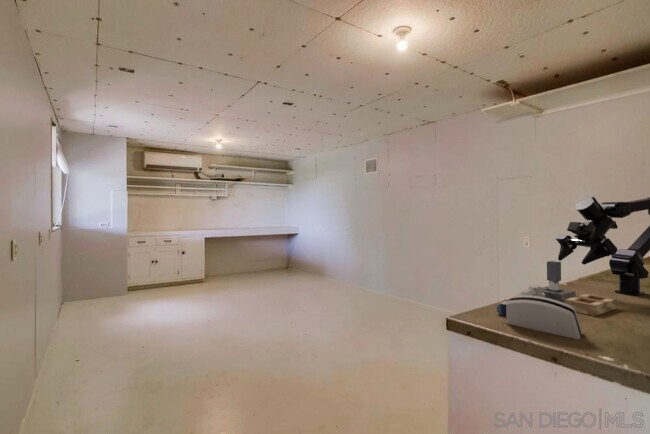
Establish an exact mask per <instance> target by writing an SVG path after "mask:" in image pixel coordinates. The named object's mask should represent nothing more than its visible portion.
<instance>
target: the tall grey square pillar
mask: <svg viewBox="0 0 650 434" xmlns="http://www.w3.org/2000/svg"><path fill="white" fill-rule="evenodd" d="M546 280H547V281H548V286H549V291H552V292H559V288H560V282H561V281H562V261H556V260H550V261H546Z"/></svg>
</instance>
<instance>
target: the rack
mask: <svg viewBox="0 0 650 434" xmlns="http://www.w3.org/2000/svg"><path fill="white" fill-rule="evenodd" d="M564 303H565V304H568V305H570V306H572V307H574V308H575V310H576V313H580V314H584V315H587V316H593V317H596V316H599V315H602V314H604V313H607V312H610V311H613V310H616V309H617V310H618V304H617V303H618V299H617V298H615V297H608V296H603V295H596V294H592V293H584V294H580V295H576V297H572V298H569V299H565V300H564Z"/></svg>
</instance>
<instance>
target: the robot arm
mask: <svg viewBox="0 0 650 434" xmlns="http://www.w3.org/2000/svg"><path fill="white" fill-rule="evenodd" d="M575 210H576V211H577V212H578V213H579V214H580V215H581V216H582V217H583V218H584V220H585V222H580V221H569V224H568V227H567V228H566V231H567V232H571V233H572V234H573V236H574V238H575V239H574V238H573V237H572V236H571V235H567V234H559V235H558V236H557V237H556V238H555V240H556V242H558V244H559V246H560V249H559V253H558V256H557V259H558V262H562V260H564V259H565V258H568V256H570V255H571V254H573V253H574V252H575V251H574V250H576V249H577V248H578V246H579V247H585V248H590V249H589V251H588V252H587V253H586V255H585V256H584V257H583V259H582V261H581V264H582V265H587V264H590V263H592V262H595V261H597V260H600V259H603V258H606V257H610V259H609V261H608V263H609V267H610V271H611V273H612V275H616V276H618V289H616V290H614V293H620V294H624V295H631V296H638V297H639V296H641V295H644V294H645V291H642V290H641V279H643V280H644V279H648V277H649V271H648V270H647V269H646V268H645V266H644V265H645V259H644V257H645V256H646V255H647V254H648V252H649V251H650V225H649V226H647V228H646V229H645V230H644V231H643V232H642V233H641V234H640V235H639V237H637V238H636V239H635V240H634V241H633V242H632V244H631V245H630V246H629V247H628V248H627V249H623V248H618V247H617V246H616V245H615V244H614V243H613V241H612V240H611V239H610V238H607V235H606V234H607V233H608V232H609V230H610V229H611V230H612V229H614V230H617V229H618V223H617V221H616V220H614V219H623V218H625V217H628V216H630V215H631V214H632V213H635V212H642V211H646V210H647V214H648V215H649V216H650V197H646V198H642V199H637V200H636V199H635V200H630V201H629V200H628V201H611V202H609V201H607V202H605V201H604V202H601V203H599V202H598V200H597V199H596V198H595V197H594V196H588V197H587V198H586V199H583V200H580V201H579V202H577V203H576V205H575Z"/></svg>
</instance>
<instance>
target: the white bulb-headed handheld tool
mask: <svg viewBox="0 0 650 434" xmlns="http://www.w3.org/2000/svg"><path fill="white" fill-rule="evenodd" d="M541 288H542V286H541V285H540V284H536V283H534V284H533V283H532V284H529V285H528V288H527V289H525V290H523V291H521V292H519V293H517V294H515V295H513V296H512V297H514V296H539V297H545V294H544V293H542V290H541ZM510 298H511V297H508V298H507V299H503V300H502V301H501V302H500V303H499V304H498V305H497V306H495V307H496V312H497V314H498V315H500V316H503V317H506V305H507V302H508V301H509V299H510Z"/></svg>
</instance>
